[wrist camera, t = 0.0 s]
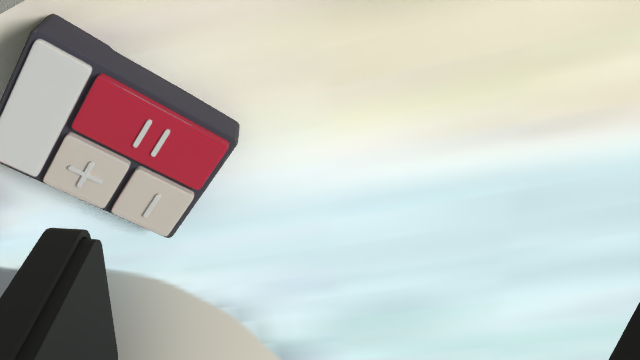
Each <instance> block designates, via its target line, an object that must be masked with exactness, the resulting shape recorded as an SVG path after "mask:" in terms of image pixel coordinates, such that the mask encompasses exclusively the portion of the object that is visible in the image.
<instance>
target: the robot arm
mask: <svg viewBox="0 0 640 360" xmlns="http://www.w3.org/2000/svg"><path fill="white" fill-rule="evenodd" d="M0 360H118V352H117V345H116V338H115V332H114V325H113V318H112V311H111V304H110V297H109V290H108V283H107V276H106V269H105V262H104V256H103V249H102V244H101V242H100V240H96V239H91V237H90V234H89V232H88V231H87V230H81V229H62V228H49V229H46V230H45V232H44V233H43V234H42V236H41V237H40V239H39V240H38V242H37V243H36V245H35V246H34V248H33V249H32V251H31V252H30V254H29V255H28V257H27V258H26V260H25V261H24V263H23V264H22V266H21V268H20V269H19V271H18V272H17V274H16V275H15V277H14V278H13V280H12V281H11V283H10V284H9V286H8V288H7V289H6V290H5V292H4V293H3V295H2V296H1V298H0ZM609 360H640V303H639V304H638V306H637V308H636V310H635V312H634V314H633V316H632V317H631V319H630V321H629V323H628V325H627V327H626V329H625V330H624V332H623V334H622V336H621V338H620V340H619V341H618V343H617V345H616V347H615V349H614V351H613V353H612V354H611V356H610V358H609Z"/></svg>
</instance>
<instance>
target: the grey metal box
mask: <svg viewBox="0 0 640 360" xmlns="http://www.w3.org/2000/svg"><path fill="white" fill-rule="evenodd" d="M22 1H24V0H0V14H1V13H3V12H5V11H6V10H8V9H10V8H12V7H13V6H15V5H17V4H19V3H20V2H22Z"/></svg>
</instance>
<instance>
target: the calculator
mask: <svg viewBox="0 0 640 360" xmlns="http://www.w3.org/2000/svg"><path fill="white" fill-rule="evenodd" d="M238 136H239V124H238V122H236V121H235V120H233V119H231V118H230V117H228V116H226V115H225V114H223V113H221V112H220V111H218V110H216V109H215V108H213V107H211V106H210V105H208V104H206V103H204V102H203V101H201V100H199V99H198V98H196V97H194V96H193V95H191V94H189V93H187V92H186V91H184V90H182V89H181V88H179V87H177V86H175V85H174V84H172V83H170V82H168V81H167V80H165V79H163V78H161V77H159V76H158V75H156V74H154V73H152V72H151V71H149V70H147V69H145V68H143V67H142V66H140V65H138V64H136V63H135V62H133V61H131V60H129V59H128V58H126V57H124V56H122V55H120V54H119V53H117V52H115V51H114V50H113V49H112V48H111V47H109V46H108V45H107V44H105V43H103V42H102V41H100V40H98V39H97V38H95V37H93V36H91V35H90V34H88V33H86V32H85V31H83V30H81V29H80V28H78V27H76V26H75V25H73V24H71V23H70V22H68V21H66V20H64V19H63V18H61V17H59V16H57V15H55V14H51V15H49V16H48V17H47V18H46V19H45V20H43V21H42V22H41V23H40V24H39V25H38V26H37V27H35V28H34V29H33V30H32V31H31V33H30V35H29V37H28V40H27V42H26V44H25V47H24V49H23V51H22V53H21V56H20V58H19V60H18V62H17V65H16V67H15V69H14V71H13V74H12V76H11V78H10V80H9V83H8V85H7V87H6V90H5V92H4V94H3V96H2V99H1V101H0V163H1V164H3V165H5V166H7V167H10V168H12V169H14V170H16V171H19V172H21V173H23V174H25V175H27V176H30V177H32V178H34V179H36V180H39V181H41V182H43V183H45V184H48V185H50V186H52V187H54V188H56V189H59V190H61V191H63V192H65V193H68V194H70V195H72V196H74V197H77V198H79V199H81V200H83V201H86V202H88V203H90V204H92V205H94V206H97V207H99V208H101V209H103V210H106V211H108V212H110V213H112V214H115V215H117V216H119V217H121V218H123V219H126V220H128V221H130V222H132V223H135V224H137V225H139V226H141V227H144V228H146V229H148V230H150V231H153V232H155V233H157V234H159V235H161V236H164V237H167V238H170V237H172V236H173V235H174V233H175V232H176V231H177V229H178V228H179V226H180V225H181V224H182V222H183V221H184V219H185V218H186V216H187V215H188V214H189V212H190V211H191V209H192V208H193V207H194V205H195V204H196V202H197V201H198V199H199V198H200V197H201V195H202V194H203V192H204V191H205V189H206V188H207V187H208V185H209V184H210V182H211V181H212V180H213V178H214V177H215V175H216V174H217V172H218V171H219V170H220V168H221V167H222V165H223V164H224V162H225V161H226V160H227V158H228V157H229V155H230V154H231V153H232V151H233V150H234V148H235V147H236V145H237V143H238Z"/></svg>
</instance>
